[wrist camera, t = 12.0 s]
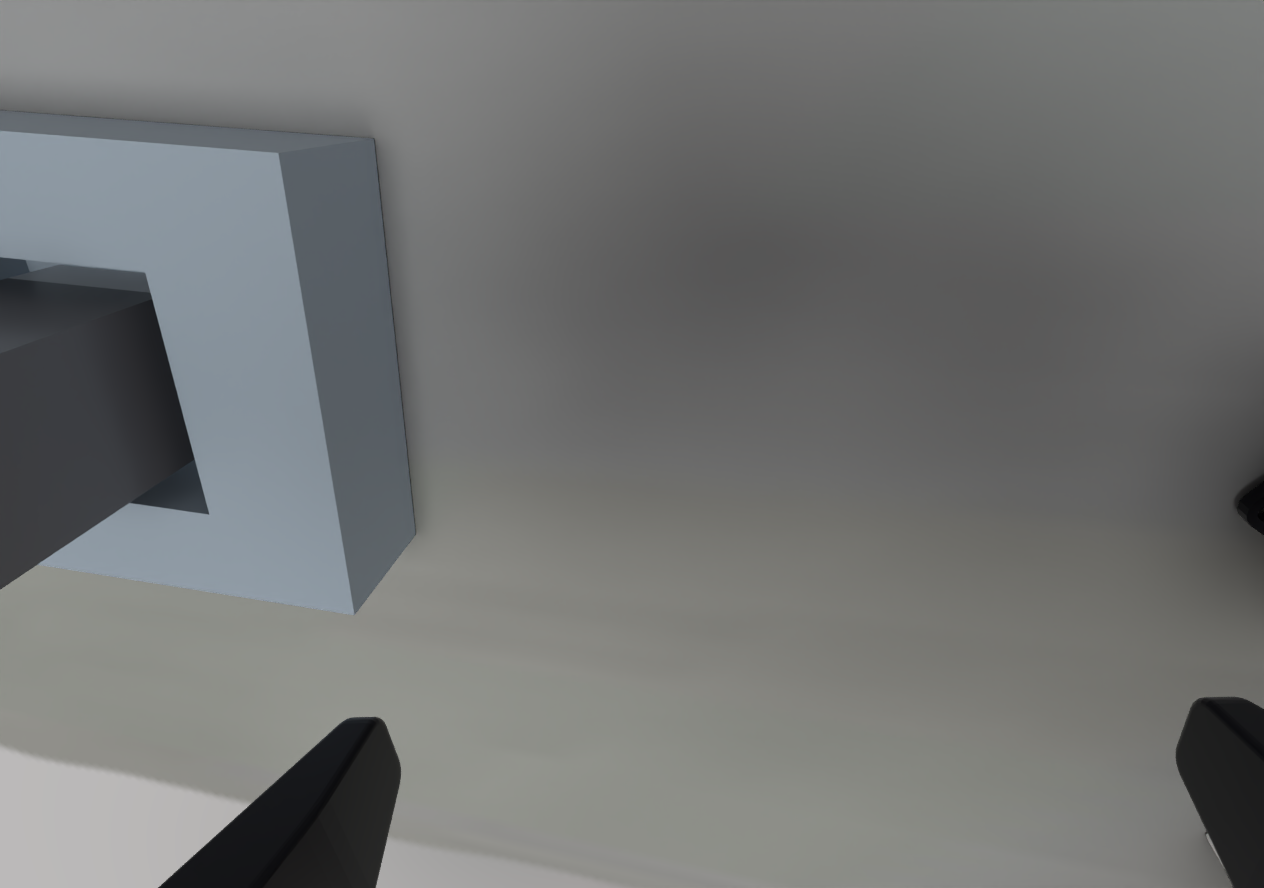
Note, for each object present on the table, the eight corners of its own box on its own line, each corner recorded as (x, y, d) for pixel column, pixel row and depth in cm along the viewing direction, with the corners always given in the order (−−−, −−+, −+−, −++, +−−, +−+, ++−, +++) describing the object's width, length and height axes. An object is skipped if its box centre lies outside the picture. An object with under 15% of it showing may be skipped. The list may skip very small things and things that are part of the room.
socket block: (373, 138, 18) (278, 152, 14) (415, 534, 23) (354, 615, 20) (-111, 101, 19) (-303, 106, 16) (37, 480, 25) (-82, 545, 21)
